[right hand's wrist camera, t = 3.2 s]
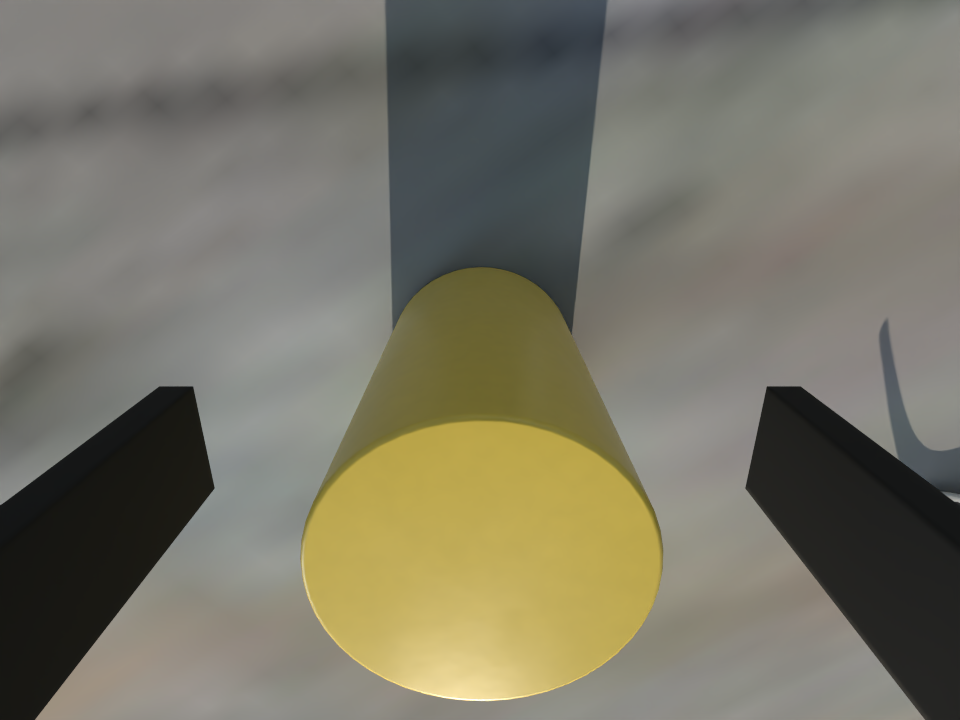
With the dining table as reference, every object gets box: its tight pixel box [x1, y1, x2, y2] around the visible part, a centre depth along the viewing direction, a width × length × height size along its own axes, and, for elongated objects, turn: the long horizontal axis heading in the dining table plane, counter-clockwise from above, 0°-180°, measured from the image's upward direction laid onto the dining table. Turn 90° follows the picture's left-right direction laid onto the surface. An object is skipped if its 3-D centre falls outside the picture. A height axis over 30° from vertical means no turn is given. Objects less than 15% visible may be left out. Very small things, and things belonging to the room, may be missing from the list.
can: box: [301, 267, 663, 701], centre depth 13 cm, size 6×6×10 cm
